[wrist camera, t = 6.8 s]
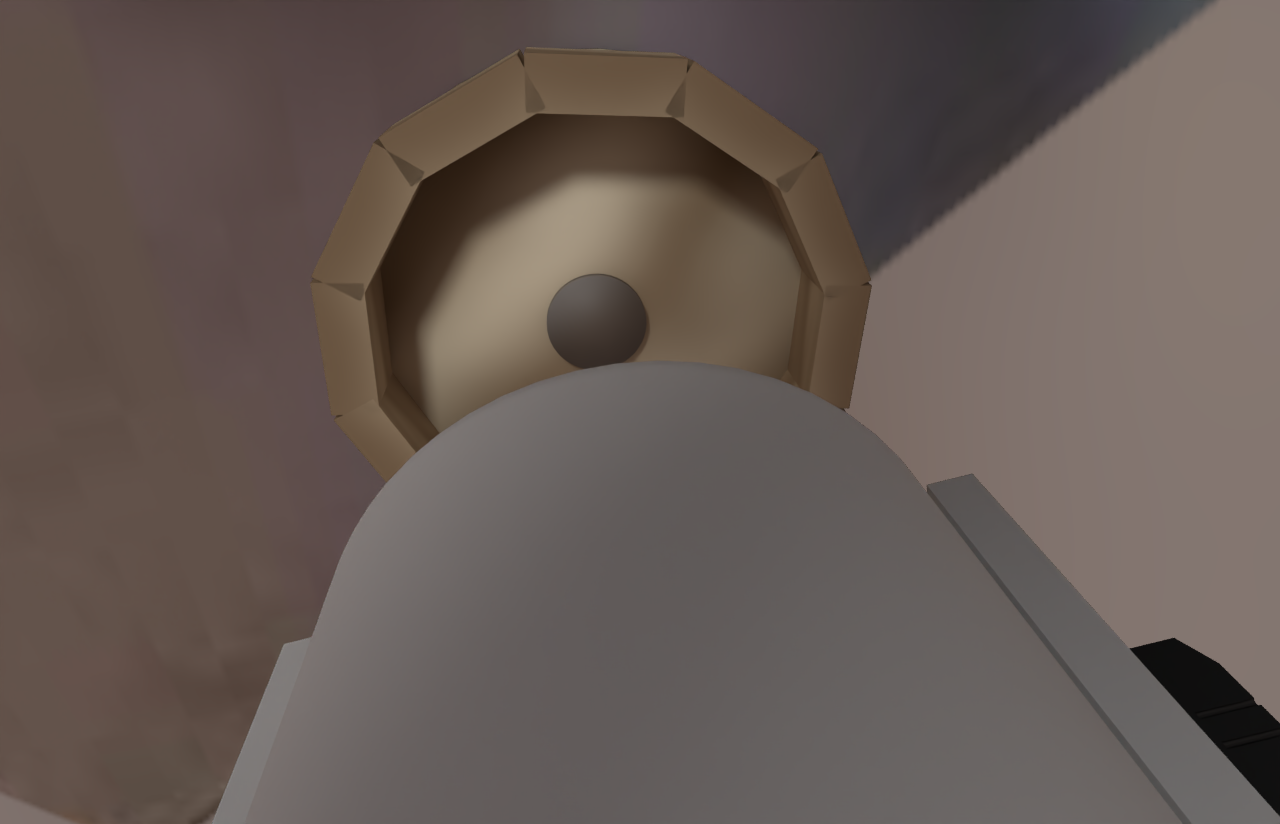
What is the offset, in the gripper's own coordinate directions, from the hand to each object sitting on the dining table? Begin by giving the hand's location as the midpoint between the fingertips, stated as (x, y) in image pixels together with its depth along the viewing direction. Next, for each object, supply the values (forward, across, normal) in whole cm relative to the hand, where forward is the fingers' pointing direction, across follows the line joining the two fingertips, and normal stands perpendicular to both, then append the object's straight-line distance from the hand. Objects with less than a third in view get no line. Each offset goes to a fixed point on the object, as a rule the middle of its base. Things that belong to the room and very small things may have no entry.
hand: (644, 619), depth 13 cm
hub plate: (+15, 0, 0) cm, 15 cm away
